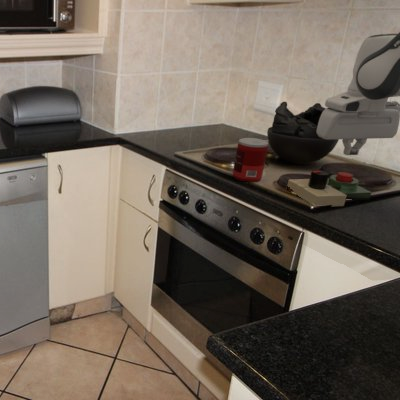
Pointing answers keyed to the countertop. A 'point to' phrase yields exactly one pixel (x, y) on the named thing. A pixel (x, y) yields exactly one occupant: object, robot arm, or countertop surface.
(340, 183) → the button housing
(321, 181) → the oven knob
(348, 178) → the button
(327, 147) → the coal bowl
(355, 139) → the robot arm
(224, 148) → the countertop surface
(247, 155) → the canned food
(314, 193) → the panel
